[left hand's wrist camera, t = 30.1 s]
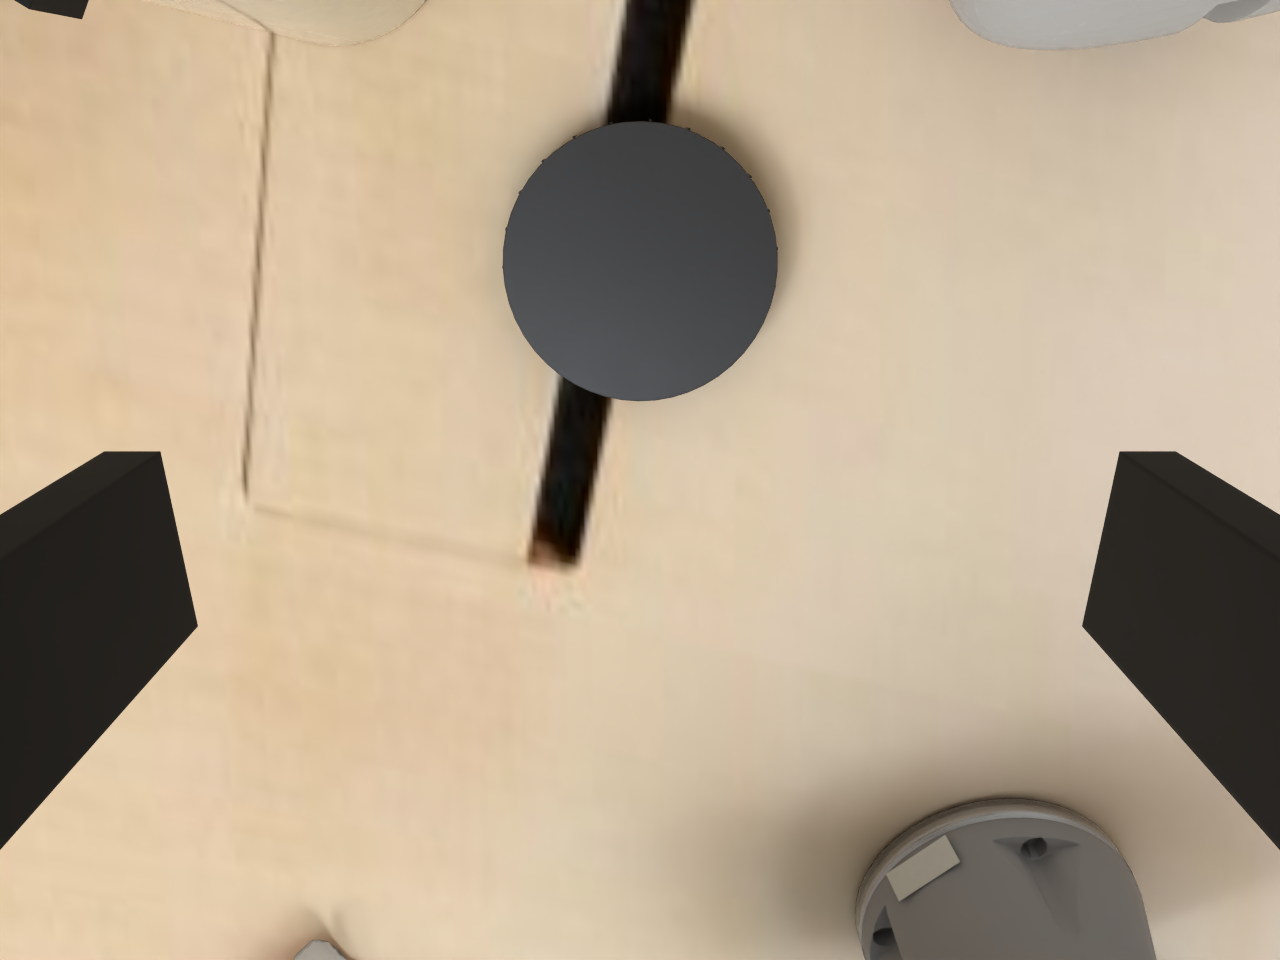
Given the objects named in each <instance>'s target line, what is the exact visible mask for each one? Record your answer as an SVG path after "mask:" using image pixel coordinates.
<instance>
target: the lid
mask: <svg viewBox="0 0 1280 960" xmlns="http://www.w3.org/2000/svg"><path fill="white" fill-rule="evenodd" d="M724 149H725V148H724V147H721V146H720V147H719V146H717V145H716V144H715V143H713V142H711V141H710V140H708V139H706V138H704V137H702V136H701V135H699V134H697V133H694V132H691V131H690V128H686V129H684V128H681V127H678V126H673V125H669V124H665V123H659V122H652V119H649V122H647V121H635V122H621V123H616V124H613V122H610V125H606V126H603V127H600V128H597V129H594V130H591V131H588V132H586V133H584V134H582V135H580V136H577V135H576V136H573V139H572V140H570V141H569V142H567V143H566V144H565V145H563V146H562V147H560V148H559V149H558V150H556V151H555V152H554V153H552V154H551V155H550V156H549V157H548V158H546V159H543V160H542V161H541V162H542V164H541V165H540V166H539V167H538V168H537V170H536V171H535V172H534V173H533V175H532V176H531V177H530V178H529V179H528V181H527V183H526V184H525V186H524V188H523V189H522V190H521V191H519V196H518V198H517V201H516V203H515V205H514V207H513V210H512V212H511V215H510V219H509V222H508V226H507V227H506V229H505V230H506V234H505V241H504V247H503V266H502V267H503V273H504V282H505V288H506V292H507V297H508V301H509V304H510V307H511V310H512V312H513V315H514V317H515V320H516V322H517V324H518V326H519V328H520V329H521V331H522V333H523V335H524V337H525V338H526V339H527V341H528V342H529V344H530V345H531V347H532V348H533V349H534V351H535V352H536V353H537V354H538V355H539V356H540V357H541V358H542V359H543V360H544V362H545V363H547V364H548V365H549V366H550V367H551V368H552V369H554V370H555V371H556V372H557V373H558V374H560V375H561V376H563V377H564V378H566V379H567V380H569V381H570V382H572V383H573V384H575V385H577V386H580V387H582V388H584V389H586V390H588V391H590V392H593V393H596V394H599V395H602V396H605V397H610V398H615V399H620V400H630V401H651V400H660V399H666V398H671V397H675V396H678V395H681V394H684V393H688V392H690V391H692V390H694V389H697V388H699V387H701V386H703V385H705V384H707V383H708V382H710V381H712V380H713V379H715V378H716V377H718V376H719V375H721V374H722V373H723V372H724V371H726V370H727V369H728V368H729V367H731V366H732V365H733V364H734V363H735V362H736V361H737V360H738V359H739V358H740V357H741V356H742V354H743V353H744V352H745V351H746V350H747V348H748V347H749V346H750V344H751V343H752V342H753V340H754V339H755V337H756V335H757V334H758V332H759V330H760V328H761V327H762V325H763V323H764V321H765V318H766V316H767V313H768V311H769V308H770V306H771V302H772V298H773V294H774V291H775V287H776V277H777V250H778V247H777V245H776V237H775V232H774V228H773V224H772V220H771V216H770V214H769V212H770V211H769V209H767V207H766V204H765V202H764V199H763V197H762V196H761V194H760V192H759V190H758V189H757V187H756V185H755V183H754V182H753V181H752V179H751V178H752V176H751V175H749V174H747V173H746V171H745V170H744V169H743V168H742V167H741V166H740V165H739V164H738V163H737V162H736V161H735V160H734V159H733V158H732V157H731V156H730V155H729V154H728V153H727V152H725V151H724Z"/></svg>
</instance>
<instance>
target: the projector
mask: <svg viewBox="0 0 1280 960" xmlns="http://www.w3.org/2000/svg"><path fill="white" fill-rule="evenodd" d="M949 1H950V3H951V6H952V8H953V9H954V11H955V12H956V14H957V16H958V17H959V19H960V20H961V21H962V22H963V23H964V24H965V25H966V26H967V27H968V28H969V29H970V30H971V31H972V32H974V33H976V34H977V35H979V36H981V37H982V38H984V39H986V40H989V41H991V42H994V43H996V44H999V45H1004V46H1009V47H1014V48H1021V49H1032V50H1071V49H1085V48H1094V47H1102V46H1109V45H1116V44H1122V43H1129V42H1135V41H1141V40H1146V39H1151V38H1156V37H1161V36H1167V35H1171V34H1175V33H1178V32H1180V31H1183V30H1185V29H1187V28H1188V27H1190V26H1192V25H1193V24H1195V23H1196V22H1197V21H1199V20H1200V19H1201V18H1203V17H1204V18H1205V19H1208V20H1210V21H1212V22H1217V23H1229V22H1234V21H1238V20H1243V19H1247V18H1252V17H1256V16H1260V15H1264V14H1268V13H1272V12H1276V11H1280V0H949Z"/></svg>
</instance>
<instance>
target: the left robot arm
mask: <svg viewBox="0 0 1280 960" xmlns="http://www.w3.org/2000/svg"><path fill="white" fill-rule="evenodd" d="M197 627H198V625H197V620H196V615H195V611H194V606H193V601H192V597H191V592H190V587H189V583H188V578H187V573H186V569H185V564H184V559H183V555H182V550H181V545H180V541H179V536H178V531H177V527H176V522H175V518H174V513H173V508H172V504H171V499H170V494H169V490H168V485H167V480H166V476H165V471H164V466H163V462H162V457H161V452H103V453H101V454H99V455H98V456H96V457H95V458H93V459H91V460H90V461H88V462H86V463H85V464H83V465H81V466H80V467H78V468H76V469H75V470H73V471H71V472H70V473H68V474H67V475H65V476H63V477H62V478H60V479H58V480H57V481H55V482H53V483H52V484H50V485H48V486H47V487H45V488H44V489H42V490H40V491H39V492H37V493H35V494H34V495H32V496H30V497H29V498H27V499H25V500H24V501H22V502H20V503H19V504H17V505H16V506H14V507H12V508H11V509H9V510H7V511H6V512H4V513H2V514H1V515H0V849H1V848H2V847H3V846H4V845H5V844H6V843H7V842H8V840H9V839H10V838H11V837H12V836H13V835H14V834H15V832H16V831H17V830H18V829H19V828H20V827H21V826H22V825H23V823H24V822H25V821H26V820H27V819H28V818H29V817H30V816H31V814H32V813H33V812H34V811H35V810H36V809H37V808H38V806H39V805H40V804H41V803H42V802H43V801H44V800H45V799H46V797H47V796H48V795H49V794H50V793H51V792H52V791H53V789H54V788H55V787H56V786H57V785H58V784H59V783H60V782H61V780H62V779H63V778H64V777H65V776H66V775H67V774H68V773H69V771H70V770H71V769H72V768H73V767H74V766H75V765H76V763H77V762H78V761H79V760H80V759H81V758H82V757H83V756H84V754H85V753H86V752H87V751H88V750H89V749H90V748H91V746H92V745H93V744H94V743H95V742H96V741H97V740H98V739H99V737H100V736H101V735H102V734H103V733H104V732H105V731H106V730H107V728H108V727H109V726H110V725H111V724H112V723H113V722H114V720H115V719H116V718H117V717H118V716H119V715H120V714H121V713H122V711H123V710H124V709H125V708H126V707H127V706H128V705H129V703H130V702H131V701H132V700H133V699H134V698H135V697H136V696H137V694H138V693H139V692H140V691H141V690H142V689H143V688H144V687H145V685H146V684H147V683H148V682H149V681H150V680H151V679H152V677H153V676H154V675H155V674H156V673H157V672H158V671H159V670H160V668H161V667H162V666H163V665H164V664H165V663H166V662H167V660H168V659H169V658H170V657H171V656H172V655H173V654H174V653H175V651H176V650H177V649H178V648H179V647H180V646H181V645H182V644H183V642H184V641H185V640H186V639H187V638H188V637H189V636H190V634H191V633H192V632H193V631H194V630H195V629H196V628H197ZM1082 627H1083V628H1084V629H1085V630H1086V631H1087V632H1088V633H1089V634H1090V636H1091V637H1092V638H1093V639H1094V640H1095V641H1096V642H1097V644H1098V645H1099V646H1100V647H1101V648H1102V649H1103V650H1104V651H1105V653H1106V654H1107V655H1108V656H1109V657H1110V658H1111V659H1112V660H1113V662H1114V663H1115V664H1116V665H1117V666H1118V667H1119V668H1120V670H1121V671H1122V672H1123V673H1124V674H1125V675H1126V676H1127V677H1128V679H1129V680H1130V681H1131V682H1132V683H1133V684H1134V685H1135V687H1136V688H1137V689H1138V690H1139V691H1140V692H1141V693H1142V694H1143V696H1144V697H1145V698H1146V699H1147V700H1148V701H1149V702H1150V703H1151V705H1152V706H1153V707H1154V708H1155V709H1156V710H1157V711H1158V713H1159V714H1160V715H1161V716H1162V717H1163V718H1164V719H1165V720H1166V722H1167V723H1168V724H1169V725H1170V726H1171V727H1172V728H1173V730H1174V731H1175V732H1176V733H1177V734H1178V735H1179V736H1180V737H1181V739H1182V740H1183V741H1184V742H1185V743H1186V744H1187V745H1188V746H1189V748H1190V749H1191V750H1192V751H1193V752H1194V753H1195V754H1196V756H1197V757H1198V758H1199V759H1200V760H1201V761H1202V762H1203V763H1204V765H1205V766H1206V767H1207V768H1208V769H1209V770H1210V771H1211V773H1212V774H1213V775H1214V776H1215V777H1216V778H1217V779H1218V780H1219V782H1220V783H1221V784H1222V785H1223V786H1224V787H1225V788H1226V789H1227V791H1228V792H1229V793H1230V794H1231V795H1232V796H1233V797H1234V799H1235V800H1236V801H1237V802H1238V803H1239V804H1240V805H1241V806H1242V808H1243V809H1244V810H1245V811H1246V812H1247V813H1248V814H1249V816H1250V817H1251V818H1252V819H1253V820H1254V821H1255V822H1256V823H1257V825H1258V826H1259V827H1260V828H1261V829H1262V830H1263V831H1264V832H1265V834H1266V835H1267V836H1268V837H1269V838H1270V839H1271V840H1272V842H1273V843H1274V844H1275V845H1276V846H1277V847H1278V848H1279V849H1280V515H1279V514H1278V513H1276V512H1274V511H1273V510H1271V509H1269V508H1268V507H1266V506H1264V505H1263V504H1261V503H1260V502H1258V501H1256V500H1255V499H1253V498H1251V497H1250V496H1248V495H1246V494H1245V493H1243V492H1241V491H1240V490H1238V489H1236V488H1235V487H1233V486H1232V485H1230V484H1228V483H1227V482H1225V481H1223V480H1222V479H1220V478H1218V477H1217V476H1215V475H1213V474H1212V473H1210V472H1209V471H1207V470H1205V469H1204V468H1202V467H1200V466H1199V465H1197V464H1195V463H1194V462H1192V461H1190V460H1189V459H1187V458H1185V457H1184V456H1182V455H1181V454H1179V453H1177V452H1119V457H1118V462H1117V466H1116V471H1115V476H1114V480H1113V485H1112V490H1111V494H1110V499H1109V504H1108V508H1107V513H1106V518H1105V522H1104V527H1103V531H1102V536H1101V541H1100V545H1099V550H1098V555H1097V559H1096V564H1095V569H1094V573H1093V578H1092V583H1091V587H1090V592H1089V597H1088V601H1087V606H1086V611H1085V615H1084V620H1083V625H1082ZM855 920H856V928H857V932H858V935H859V939H860V943H861V947H862V950H863V954H864V958H865V960H1156V955H1155V951H1154V947H1153V942H1152V938H1151V934H1150V930H1149V925H1148V921H1147V917H1146V912H1145V908H1144V904H1143V900H1142V896H1141V893H1140V890H1139V888H1138V885H1137V883H1136V881H1135V879H1134V876H1133V874H1132V871H1131V870H1130V868H1129V866H1128V865H1127V863H1126V861H1125V860H1124V858H1123V857H1122V855H1121V854H1120V852H1119V851H1118V849H1117V848H1116V846H1115V845H1114V843H1113V842H1112V841H1111V839H1110V838H1109V837H1108V836H1107V835H1106V834H1105V833H1104V832H1103V831H1102V830H1101V829H1100V828H1099V827H1098V826H1097V825H1095V824H1094V823H1093V822H1092V821H1090V820H1088V819H1087V818H1085V817H1083V816H1082V815H1080V814H1078V813H1076V812H1074V811H1072V810H1069V809H1067V808H1064V807H1061V806H1058V805H1054V804H1051V803H1047V802H1042V801H1036V800H1027V799H993V800H985V801H978V802H973V803H969V804H964V805H961V806H958V807H954V808H951V809H948V810H945V811H943V812H940V813H938V814H935V815H933V816H931V817H929V818H927V819H925V820H923V821H921V822H919V823H918V824H916V825H914V826H913V827H911V828H910V829H908V830H907V831H905V832H904V833H902V834H901V835H900V836H899V837H897V838H896V839H895V840H894V841H892V842H891V843H890V844H889V845H888V846H887V847H886V848H885V849H884V850H883V851H882V852H881V854H880V855H879V856H878V857H877V858H876V859H875V861H874V862H873V864H872V865H871V867H870V868H869V870H868V871H867V873H866V875H865V877H864V879H863V881H862V884H861V886H860V889H859V892H858V896H857V900H856V908H855Z"/></svg>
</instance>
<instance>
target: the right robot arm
mask: <svg viewBox="0 0 1280 960" xmlns="http://www.w3.org/2000/svg"><path fill="white" fill-rule="evenodd" d="M15 1H17V2H18V3H20V4H22V5H23V6H25V7H27V8H28V9H31V10H36V11H42V12H47V13H52V14H57V15H63V16H68V17H73V18H78V19H82V18H83V15H84V12H85V9H86V6H87V3H88V0H15Z"/></svg>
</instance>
